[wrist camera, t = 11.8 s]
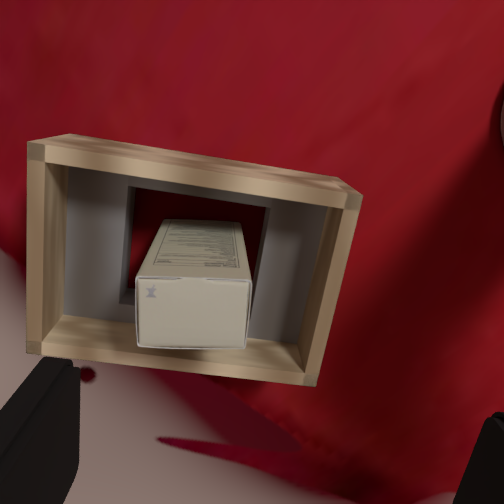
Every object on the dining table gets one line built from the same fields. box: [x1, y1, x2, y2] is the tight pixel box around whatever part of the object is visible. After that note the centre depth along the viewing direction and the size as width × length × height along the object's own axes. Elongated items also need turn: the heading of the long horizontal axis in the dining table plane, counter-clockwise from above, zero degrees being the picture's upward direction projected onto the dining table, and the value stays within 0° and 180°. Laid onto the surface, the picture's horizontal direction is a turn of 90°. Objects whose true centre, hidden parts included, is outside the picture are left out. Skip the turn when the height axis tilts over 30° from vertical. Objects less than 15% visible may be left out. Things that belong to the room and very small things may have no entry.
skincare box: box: [135, 219, 252, 349], centre depth 29 cm, size 6×4×12 cm
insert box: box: [26, 134, 363, 387], centre depth 32 cm, size 20×14×7 cm
